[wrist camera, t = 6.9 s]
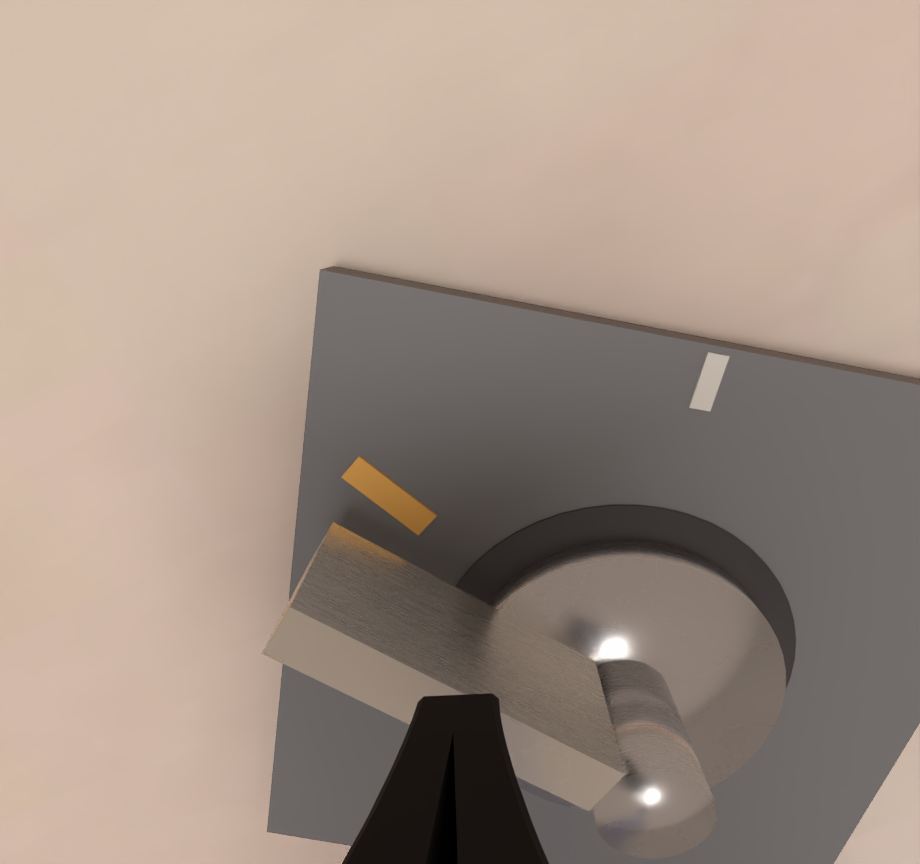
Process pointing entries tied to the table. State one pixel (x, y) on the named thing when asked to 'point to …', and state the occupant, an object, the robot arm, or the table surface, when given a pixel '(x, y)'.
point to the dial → (562, 670)
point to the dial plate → (617, 530)
